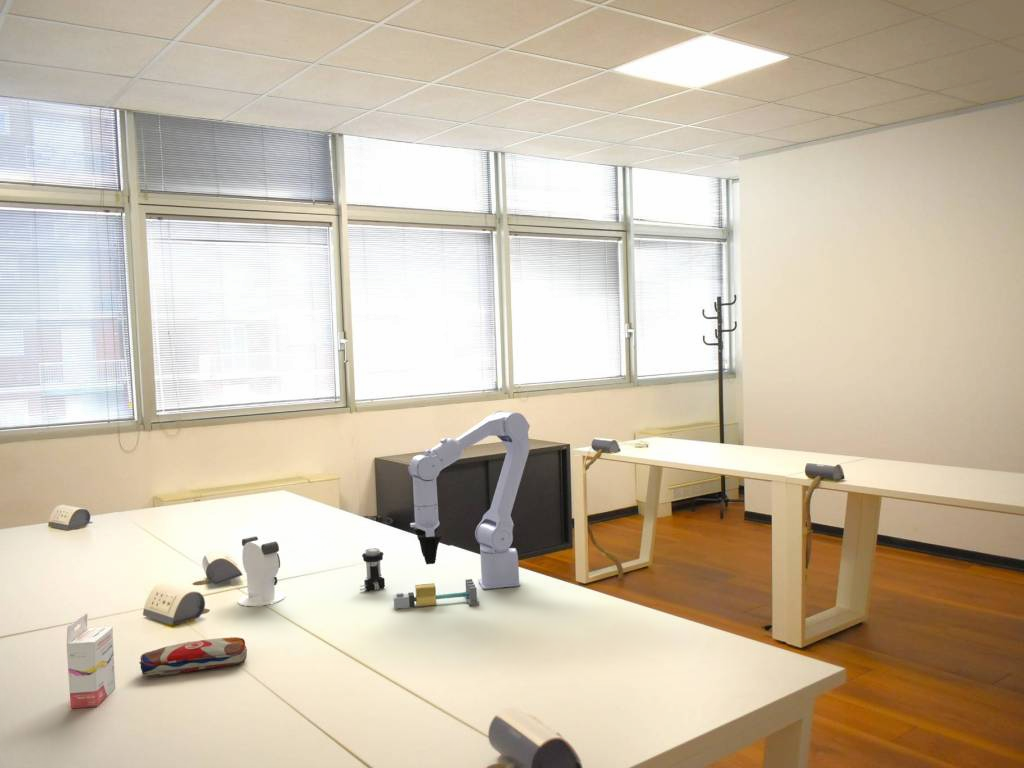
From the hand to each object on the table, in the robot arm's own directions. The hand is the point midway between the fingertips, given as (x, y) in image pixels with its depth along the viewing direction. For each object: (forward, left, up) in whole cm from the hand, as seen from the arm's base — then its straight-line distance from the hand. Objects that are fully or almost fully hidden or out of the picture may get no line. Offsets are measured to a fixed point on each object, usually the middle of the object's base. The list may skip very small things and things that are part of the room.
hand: (428, 559), depth 205 cm
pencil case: (+49, +31, -10) cm, 59 cm away
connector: (+7, +5, -9) cm, 13 cm away
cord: (-1, +5, -9) cm, 11 cm away
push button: (+14, -12, -10) cm, 21 cm away
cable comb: (-9, +5, -9) cm, 14 cm away
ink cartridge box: (+65, +41, -10) cm, 77 cm away
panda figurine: (+41, -12, -10) cm, 44 cm away
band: (+5, +5, -9) cm, 12 cm away
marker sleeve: (+2, +5, -9) cm, 11 cm away
